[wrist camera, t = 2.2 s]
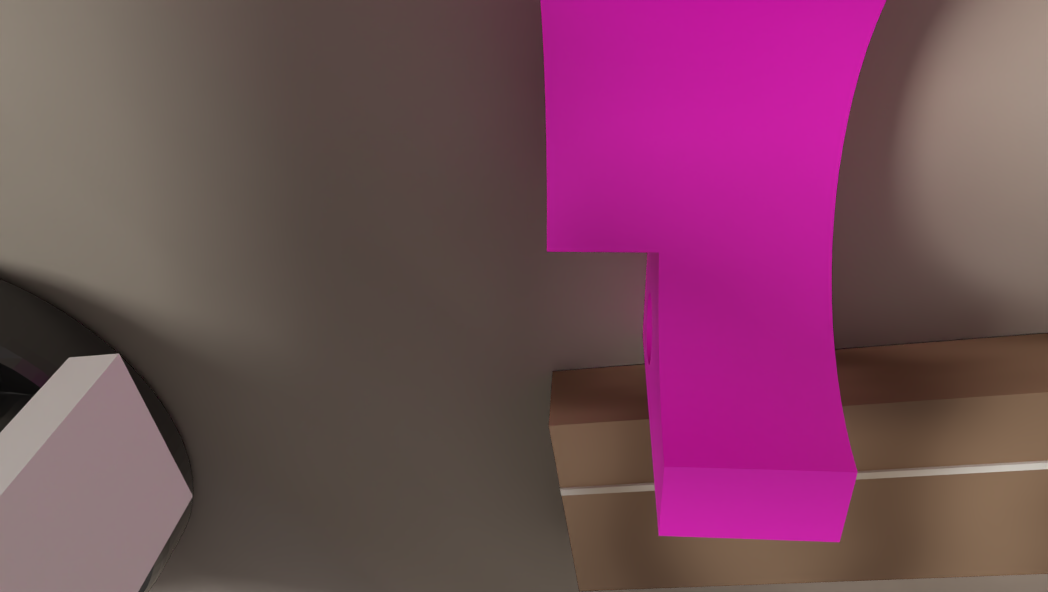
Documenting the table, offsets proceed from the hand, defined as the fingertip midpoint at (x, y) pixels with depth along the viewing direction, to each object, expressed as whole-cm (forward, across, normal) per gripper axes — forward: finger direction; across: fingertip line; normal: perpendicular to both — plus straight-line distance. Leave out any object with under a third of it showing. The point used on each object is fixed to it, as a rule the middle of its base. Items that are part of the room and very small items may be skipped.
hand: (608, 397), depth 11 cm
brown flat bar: (+11, +6, -11) cm, 17 cm away
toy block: (+11, +2, 0) cm, 12 cm away
